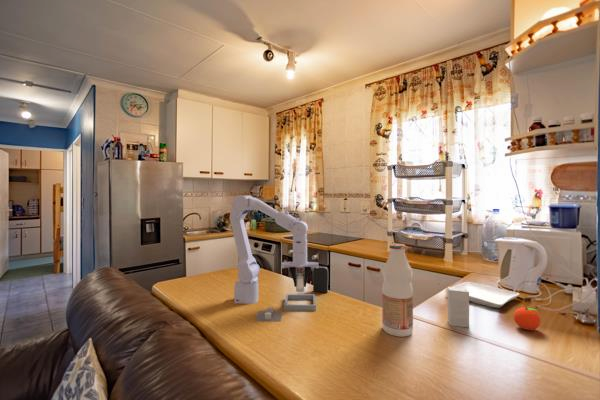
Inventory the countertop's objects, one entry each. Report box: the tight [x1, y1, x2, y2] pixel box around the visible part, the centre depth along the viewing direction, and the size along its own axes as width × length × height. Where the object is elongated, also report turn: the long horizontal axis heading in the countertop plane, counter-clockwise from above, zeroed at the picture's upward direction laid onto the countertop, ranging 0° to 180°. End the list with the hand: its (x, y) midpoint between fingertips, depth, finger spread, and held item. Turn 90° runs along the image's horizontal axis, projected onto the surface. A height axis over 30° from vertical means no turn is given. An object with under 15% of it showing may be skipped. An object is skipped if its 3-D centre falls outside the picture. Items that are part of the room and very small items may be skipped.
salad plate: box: [445, 281, 520, 309], centre depth 124 cm, size 21×21×3 cm
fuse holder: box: [254, 306, 283, 322], centre depth 105 cm, size 9×9×3 cm
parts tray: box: [283, 293, 317, 312], centre depth 116 cm, size 12×12×3 cm
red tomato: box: [513, 306, 543, 331], centre depth 95 cm, size 8×7×7 cm
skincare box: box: [446, 286, 470, 328], centre depth 99 cm, size 6×4×12 cm
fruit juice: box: [381, 243, 414, 337], centre depth 95 cm, size 9×9×28 cm
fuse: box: [295, 273, 305, 293], centre depth 115 cm, size 3×3×6 cm
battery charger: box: [312, 265, 329, 294], centre depth 133 cm, size 7×4×11 cm, turn 79°
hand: (300, 286), depth 115 cm, fingers closed on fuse, 3 cm apart
